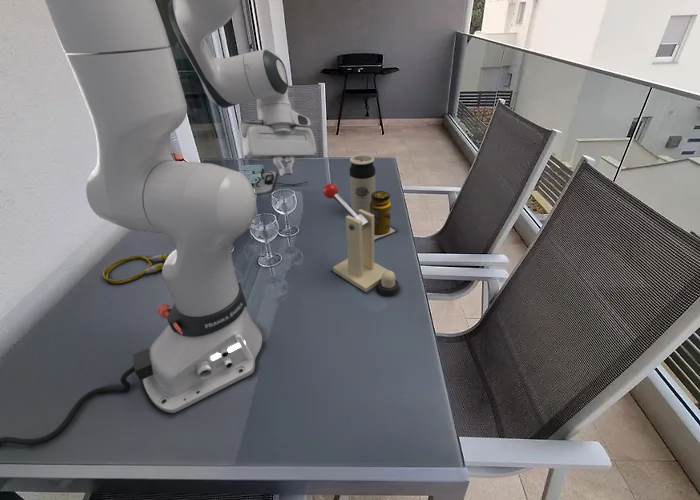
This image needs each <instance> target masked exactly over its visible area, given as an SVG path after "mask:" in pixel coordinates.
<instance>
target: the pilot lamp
mask: <svg viewBox="0 0 700 500" xmlns="http://www.w3.org/2000/svg"><path fill="white" fill-rule="evenodd" d="M377 291H378V293H379V294H380V295H382V296H385V297H392V296H395V295H397V293H398V292H399V281H398V280H396V274H395V273H394V271H392V270H389V269H387V271H385V272H383V274H382V279H381V280H379V282H378V285H377Z"/></svg>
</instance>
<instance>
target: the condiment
mask: <svg viewBox="0 0 700 500" xmlns="http://www.w3.org/2000/svg"><path fill="white" fill-rule="evenodd" d="M390 197H391V195H390V193H389V192H387V191H385V190H377V191H376V190H375V192H373V193H372V195H371V202H370V213H371V214H373V215H374V241H375V240H377V239H379V238H380V239H381V238H382V237H385V236H388V235H390V234H393V233H396V229H394V228H393V227H391V212H392V211H391V207H392V203H391V201H390V200H391V199H390Z"/></svg>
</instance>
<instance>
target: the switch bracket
mask: <svg viewBox="0 0 700 500" xmlns="http://www.w3.org/2000/svg"><path fill="white" fill-rule="evenodd" d="M359 214H362V215H363V216H364V217H365V218H366V219H367V220H368V221H369V223H368V224H367V226H366V228H365V229H363V230H362V221H360V220H358V219H356V218H353V217H351V216H349V215H348V214H347V215H346V216H345V228H346V229H345V231H346V233H345V234H346V250H347V258H345V259H344V260H343V261H341V262H339V263H337V264H336V265H334V266H332V272H333V273H335V274H336V275H338V276H340V277H341V278H343V279H344V280H345V281H348V282H349V283H350V284H352V285H353V286H355V287H356V288H358V289H360V290H361V291H362V292H365V293H368V292H369V291H371V290H372V289H373V288H374V287H376V286H378V282H379V280H381V279H382V274H383V272H385V271H387V270H388V269H387V268H386V267H384V266H382V265H381V264H378V263H377V262H376V261H375V240H374V215H373V214H371V213H369V212H366V211H364V210H362V209H360V210H358V215H359Z"/></svg>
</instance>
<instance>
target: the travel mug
mask: <svg viewBox="0 0 700 500" xmlns="http://www.w3.org/2000/svg"><path fill="white" fill-rule="evenodd" d="M374 161H375V157H374V156H372V155H370V154H357V155H353V156H352V157H350V159H349V162H350V168H349V189H350V191H349V192H350V193H349V194H350V208H351V209H352V210H353V211H354V212H355V213H356V214H357V215H358V210H360V209H362V210H364V211H366V212H369V213H370V202H371V195H372V193H373V192H376V167H375V166H374Z"/></svg>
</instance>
